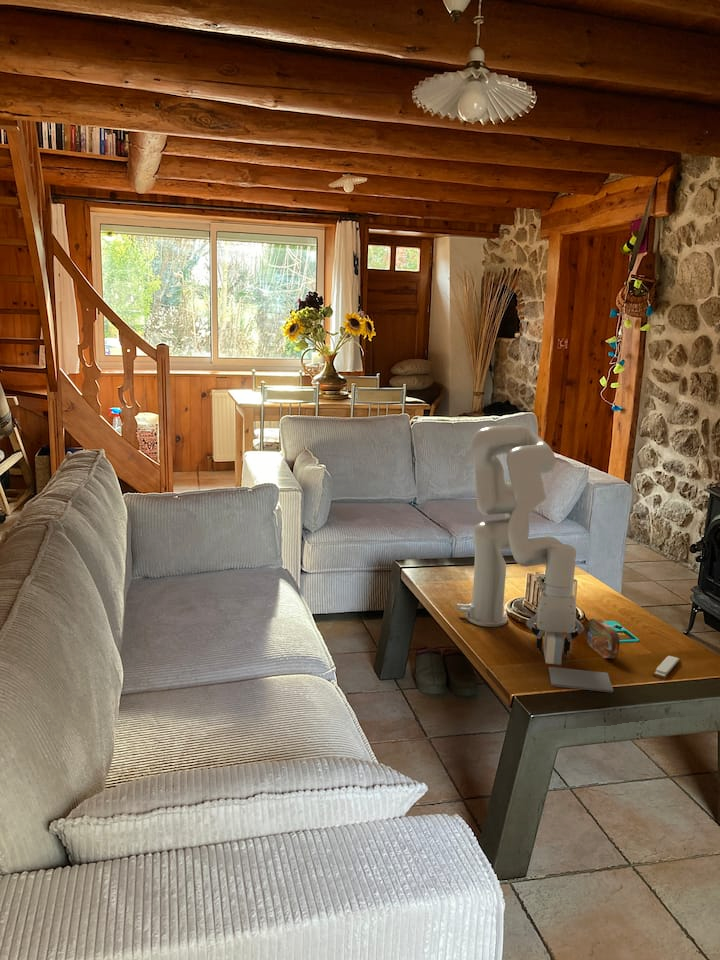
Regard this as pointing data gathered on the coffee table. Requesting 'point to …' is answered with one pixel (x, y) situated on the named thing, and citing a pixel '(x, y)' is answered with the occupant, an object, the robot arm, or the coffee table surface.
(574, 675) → the mat
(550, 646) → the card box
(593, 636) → the tin
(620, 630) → the handheld gaming console
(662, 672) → the harmonica
